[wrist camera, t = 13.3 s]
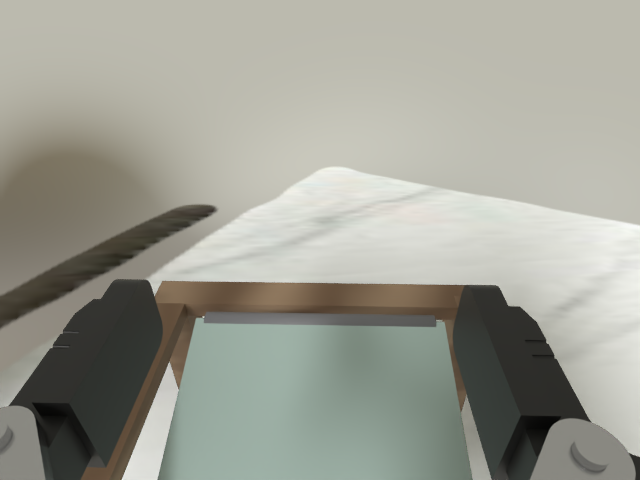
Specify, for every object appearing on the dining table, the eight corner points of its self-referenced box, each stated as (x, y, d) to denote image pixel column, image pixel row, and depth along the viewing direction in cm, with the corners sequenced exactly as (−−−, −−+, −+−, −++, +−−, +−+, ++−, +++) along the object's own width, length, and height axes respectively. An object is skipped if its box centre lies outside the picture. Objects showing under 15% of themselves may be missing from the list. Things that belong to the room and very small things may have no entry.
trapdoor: (124, 661, 16) (112, 666, 15) (202, 317, 25) (197, 307, 24) (498, 676, 16) (509, 682, 15) (438, 321, 25) (443, 311, 24)
